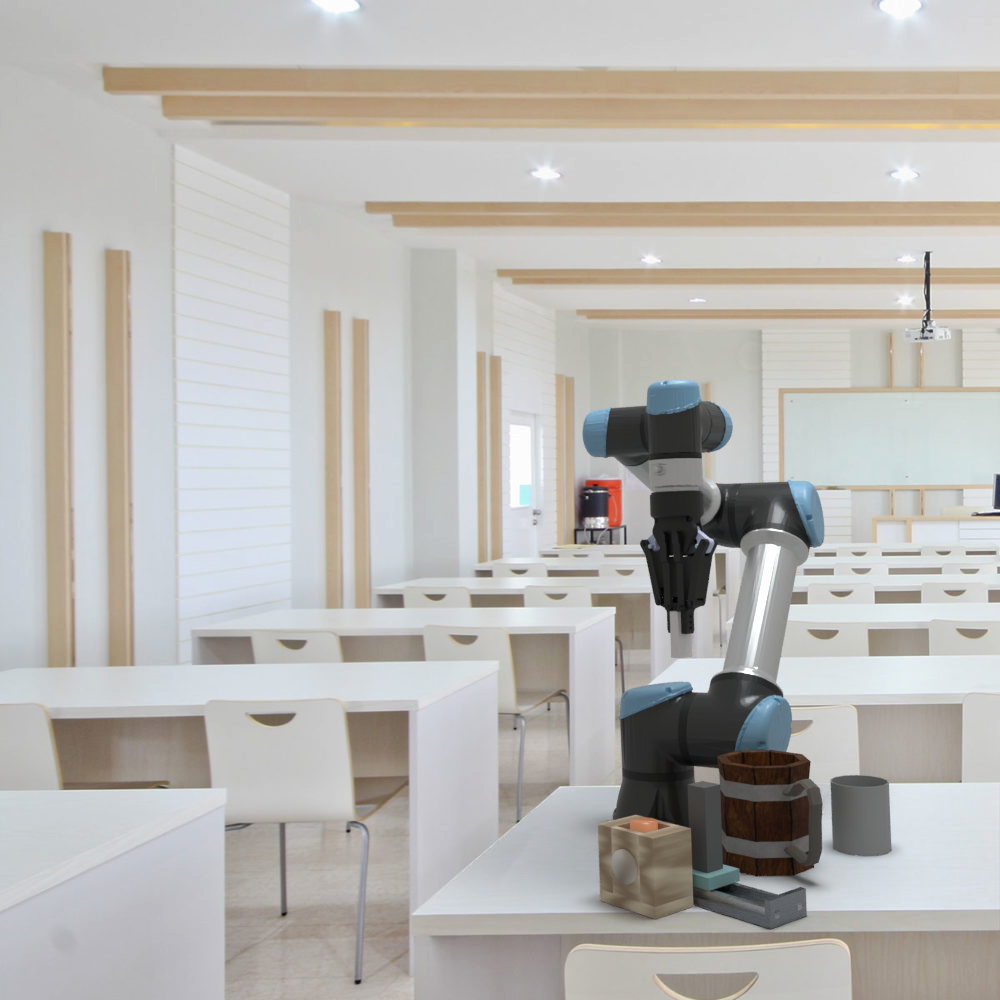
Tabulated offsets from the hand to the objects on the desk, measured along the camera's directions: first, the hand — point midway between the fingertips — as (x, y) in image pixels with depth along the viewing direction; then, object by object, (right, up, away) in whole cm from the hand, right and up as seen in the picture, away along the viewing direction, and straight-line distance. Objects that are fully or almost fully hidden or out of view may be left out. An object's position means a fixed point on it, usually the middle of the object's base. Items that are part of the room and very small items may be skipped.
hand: (681, 656), depth 165 cm
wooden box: (-7, -30, -13) cm, 34 cm away
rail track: (+4, -30, -15) cm, 34 cm away
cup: (+28, -30, +10) cm, 43 cm away
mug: (+14, -30, +1) cm, 33 cm away
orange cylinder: (-7, -28, -13) cm, 31 cm away
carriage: (+2, -28, -11) cm, 30 cm away
